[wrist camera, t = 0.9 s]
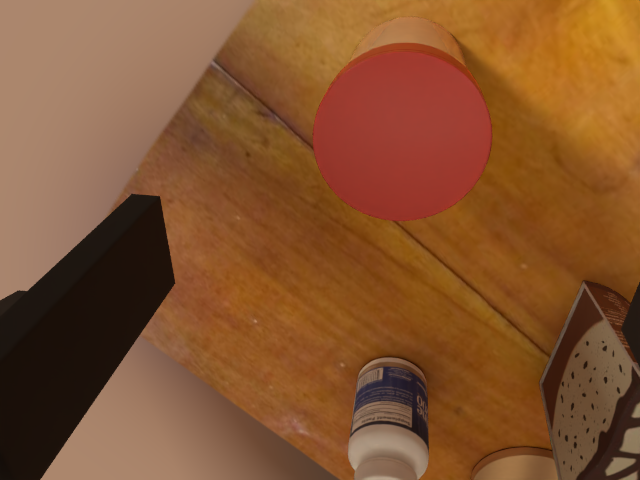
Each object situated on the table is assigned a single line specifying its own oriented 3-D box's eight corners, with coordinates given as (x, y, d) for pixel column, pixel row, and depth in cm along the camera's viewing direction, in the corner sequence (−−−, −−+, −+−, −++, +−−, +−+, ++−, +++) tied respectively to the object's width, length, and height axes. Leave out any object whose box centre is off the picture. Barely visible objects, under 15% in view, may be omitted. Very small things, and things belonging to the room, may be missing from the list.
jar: (346, 132, 30) (319, 205, 22) (349, 14, 27) (320, 52, 19) (456, 138, 30) (470, 217, 22) (474, 18, 26) (498, 58, 18)
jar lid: (317, 196, 24) (311, 214, 22) (317, 39, 20) (309, 47, 19) (472, 208, 23) (476, 228, 21) (501, 45, 19) (508, 55, 18)
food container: (617, 411, 38) (674, 550, 30) (532, 396, 39) (564, 527, 30) (695, 277, 32) (796, 405, 23) (591, 261, 32) (652, 380, 24)
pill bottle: (424, 408, 41) (425, 528, 33) (357, 400, 42) (341, 515, 34) (430, 358, 38) (434, 475, 30) (358, 350, 39) (343, 463, 31)
